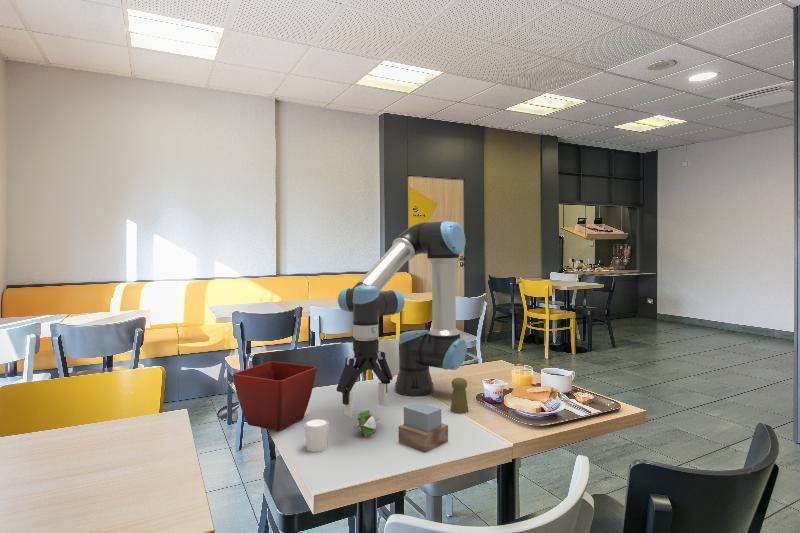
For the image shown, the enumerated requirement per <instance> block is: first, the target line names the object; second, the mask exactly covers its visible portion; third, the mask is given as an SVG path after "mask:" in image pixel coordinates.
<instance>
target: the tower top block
mask: <svg viewBox="0 0 800 533" xmlns="http://www.w3.org/2000/svg"><path fill="white" fill-rule="evenodd" d="M441 423H442V409H441V408H440V407H436V406H433V405H429V404H425V403H423V402H422V403H421V402H419V401H417V402H414V403H411V404H408V405H406V406H403V424H404V425H407V426H410V427H413V428H416V429H419V430H422V431H425V432H430V431H432V430H435V429H437V428H439V427H441Z"/></svg>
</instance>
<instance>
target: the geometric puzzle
mask: <svg viewBox="0 0 800 533" xmlns="http://www.w3.org/2000/svg"><path fill="white" fill-rule="evenodd" d="M374 417H375V418H376V419H375V418H374ZM356 419H357V420H356V421H357V422H358V423H359V425H358V426H356V424H357V423H354V427H353V428H354V429H356V430H357V431H358V432H360V433H361V435H363V437H364V438H366V437H369V436H370V435H373V434H375V433H376V431H377V427H378V424H376V421H379V420H380V418H377V416H374V414H373V413H372V412H371V411H370V410H366V411H363V412H360V413H358V416H357V418H356ZM358 428H360V429H358Z"/></svg>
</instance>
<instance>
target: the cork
mask: <svg viewBox="0 0 800 533" xmlns="http://www.w3.org/2000/svg"><path fill="white" fill-rule="evenodd" d="M451 386H452V389H453V390H452V398H451V403H450V404H451V405H450V412H451V413H453V414H458V415H460V414H461V413H464V414H466V412H467V413H469V406H468V398H467V390H466V388H468V382H467V380H466V379H465V378H464V377H463V378H462V377H456V378H455V377H454V378H453V379H452V380H451ZM461 415H462V414H461Z"/></svg>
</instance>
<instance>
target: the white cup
mask: <svg viewBox="0 0 800 533" xmlns="http://www.w3.org/2000/svg"><path fill="white" fill-rule="evenodd" d="M329 426H330V421H328V419H324V418H313V419H309V420H307V421H305V422H304V426H303V427H304V434H305V435H304V436H305V446H306V450H307V451H309V452H313V453H314V452H315V453H316V452H318V453H319V452H323V451H324V450H327V448H328V440H329Z"/></svg>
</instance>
